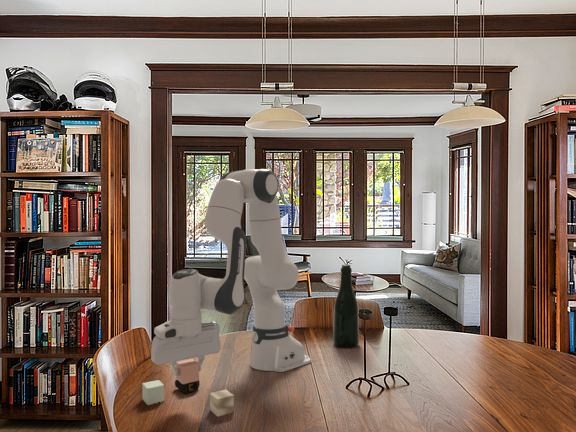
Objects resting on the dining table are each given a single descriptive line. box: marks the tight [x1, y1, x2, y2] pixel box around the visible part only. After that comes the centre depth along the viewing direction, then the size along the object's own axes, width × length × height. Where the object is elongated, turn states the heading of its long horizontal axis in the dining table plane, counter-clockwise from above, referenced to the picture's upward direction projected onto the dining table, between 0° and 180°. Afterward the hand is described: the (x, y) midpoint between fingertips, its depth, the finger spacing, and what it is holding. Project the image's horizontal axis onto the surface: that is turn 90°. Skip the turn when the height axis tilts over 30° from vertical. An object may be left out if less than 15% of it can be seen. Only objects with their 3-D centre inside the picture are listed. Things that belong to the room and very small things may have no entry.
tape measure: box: [174, 379, 200, 394], centre depth 156 cm, size 7×7×4 cm
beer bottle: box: [332, 263, 360, 349], centre depth 202 cm, size 10×10×33 cm
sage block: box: [141, 379, 165, 406], centre depth 148 cm, size 5×5×5 cm
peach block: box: [175, 358, 200, 384], centre depth 144 cm, size 5×5×5 cm
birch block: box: [209, 389, 235, 417], centre depth 141 cm, size 5×5×5 cm
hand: (187, 373), depth 144 cm, fingers closed on peach block, 5 cm apart
